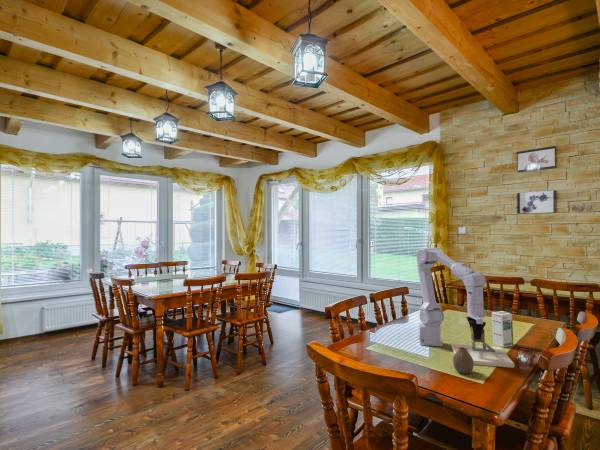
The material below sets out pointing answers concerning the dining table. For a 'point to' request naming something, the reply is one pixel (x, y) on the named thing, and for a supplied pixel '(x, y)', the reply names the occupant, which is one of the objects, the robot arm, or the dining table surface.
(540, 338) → the dining table surface
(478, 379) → the dining table surface
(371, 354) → the dining table surface
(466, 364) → the vase
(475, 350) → the bent wire
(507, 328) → the syrup box
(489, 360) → the board
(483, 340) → the walnut block
